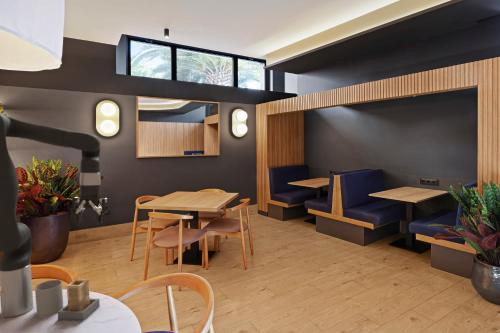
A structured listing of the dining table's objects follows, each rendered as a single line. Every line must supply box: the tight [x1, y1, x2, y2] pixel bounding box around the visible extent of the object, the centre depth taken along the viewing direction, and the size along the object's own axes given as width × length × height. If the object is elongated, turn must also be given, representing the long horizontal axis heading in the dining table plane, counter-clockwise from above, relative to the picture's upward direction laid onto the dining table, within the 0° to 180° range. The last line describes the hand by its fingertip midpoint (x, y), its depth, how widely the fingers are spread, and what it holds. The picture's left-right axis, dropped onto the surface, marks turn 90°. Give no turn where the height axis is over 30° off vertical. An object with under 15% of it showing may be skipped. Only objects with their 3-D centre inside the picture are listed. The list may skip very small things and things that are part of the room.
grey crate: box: [57, 298, 101, 322], centre depth 110 cm, size 10×10×3 cm
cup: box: [34, 279, 64, 318], centre depth 112 cm, size 8×8×10 cm
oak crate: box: [66, 278, 91, 311], centre depth 110 cm, size 5×5×11 cm
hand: (89, 222), depth 122 cm, fingers open, 8 cm apart
